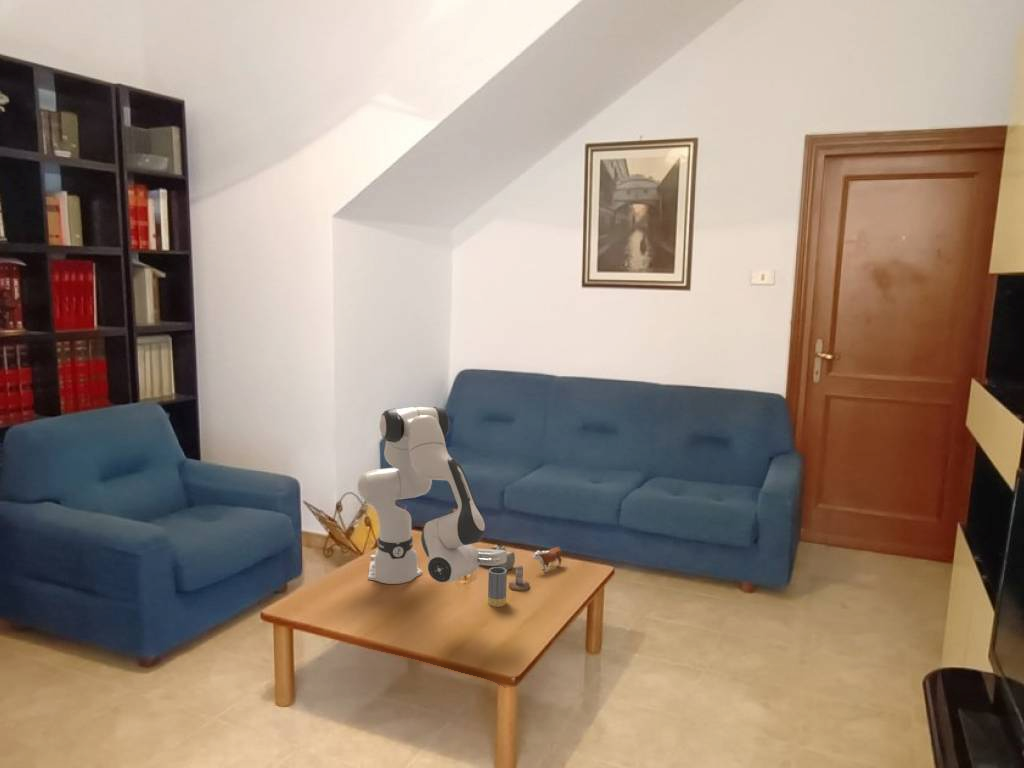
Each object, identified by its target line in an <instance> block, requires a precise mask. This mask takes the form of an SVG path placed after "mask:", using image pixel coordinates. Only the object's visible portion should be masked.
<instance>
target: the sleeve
mask: <svg viewBox="0 0 1024 768" xmlns="http://www.w3.org/2000/svg"><path fill="white" fill-rule="evenodd" d="M507 572H508V570H507V569H505V568H502V567H500V566H499V567H497V566H492V567H490V568H489V569H488V582H487V583H488V584H487V585H488V587H487V588H488V589H487V590H488V593H487V596H488V598H487V604H488V605H489V606H491V607H497V608H499V607H503V606H505V605H506V604H507V580H508V579H507V578H508V577H507V576H508V575H507V574H508V573H507Z"/></svg>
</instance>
